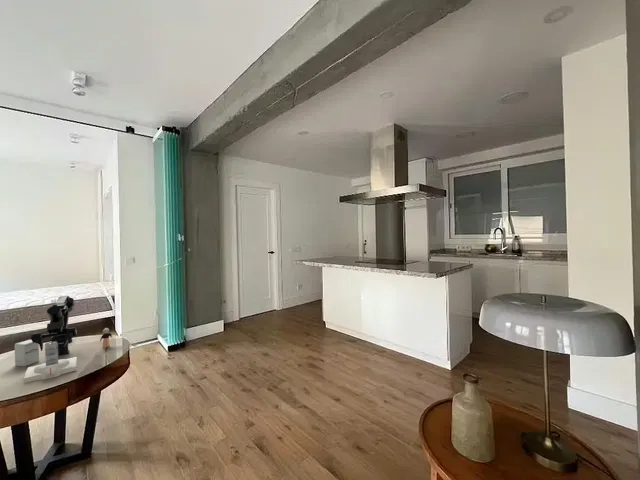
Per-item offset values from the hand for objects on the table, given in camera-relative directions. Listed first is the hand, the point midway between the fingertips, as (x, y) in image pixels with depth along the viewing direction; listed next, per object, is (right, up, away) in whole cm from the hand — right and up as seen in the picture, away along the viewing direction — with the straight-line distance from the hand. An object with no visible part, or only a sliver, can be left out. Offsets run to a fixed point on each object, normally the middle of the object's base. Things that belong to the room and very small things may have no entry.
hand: (52, 348), depth 158 cm
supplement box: (-23, -12, +8) cm, 27 cm away
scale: (+2, -11, -3) cm, 12 cm away
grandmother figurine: (+7, -11, +30) cm, 33 cm away
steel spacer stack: (+2, -8, -3) cm, 9 cm away
